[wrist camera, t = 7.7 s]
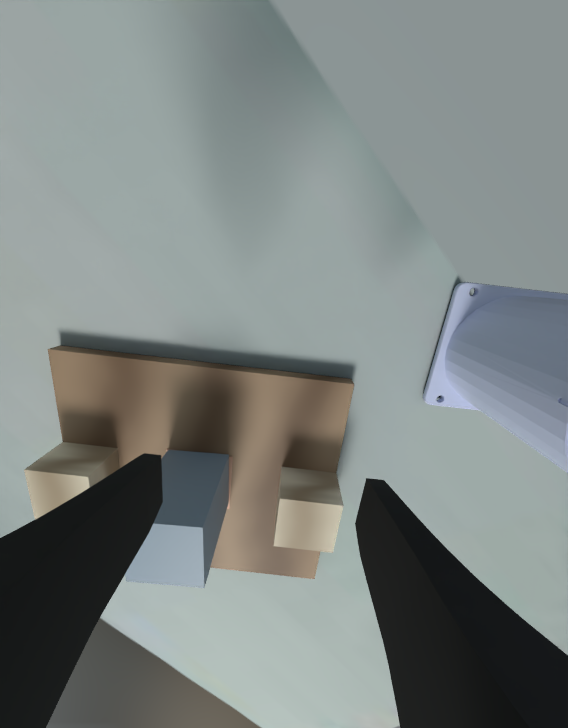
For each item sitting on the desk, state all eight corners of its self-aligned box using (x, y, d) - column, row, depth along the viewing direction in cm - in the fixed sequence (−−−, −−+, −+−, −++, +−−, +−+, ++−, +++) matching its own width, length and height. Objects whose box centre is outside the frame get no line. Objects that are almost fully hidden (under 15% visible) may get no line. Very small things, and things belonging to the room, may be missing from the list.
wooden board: (351, 378, 19) (366, 405, 15) (313, 567, 24) (317, 621, 20) (60, 345, 19) (0, 363, 15) (89, 542, 24) (51, 591, 20)
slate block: (229, 454, 20) (202, 527, 14) (228, 503, 21) (204, 587, 15) (168, 449, 20) (117, 520, 14) (171, 498, 21) (126, 581, 15)
